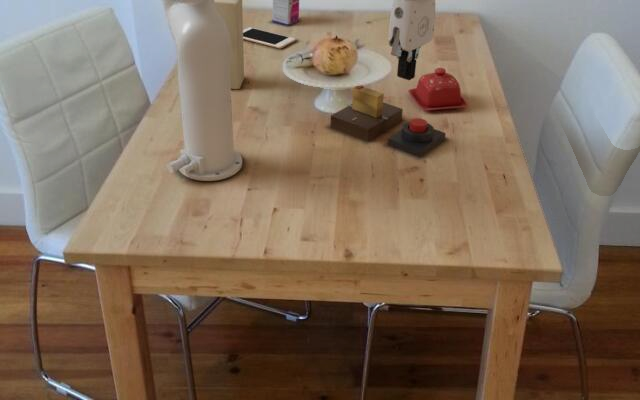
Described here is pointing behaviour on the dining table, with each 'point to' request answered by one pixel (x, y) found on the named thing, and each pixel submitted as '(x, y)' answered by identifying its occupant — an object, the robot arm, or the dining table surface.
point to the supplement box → (285, 11)
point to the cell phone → (267, 37)
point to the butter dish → (438, 91)
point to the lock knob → (367, 101)
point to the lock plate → (365, 121)
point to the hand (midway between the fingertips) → (405, 77)
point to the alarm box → (416, 140)
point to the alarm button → (418, 125)
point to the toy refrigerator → (234, 37)
